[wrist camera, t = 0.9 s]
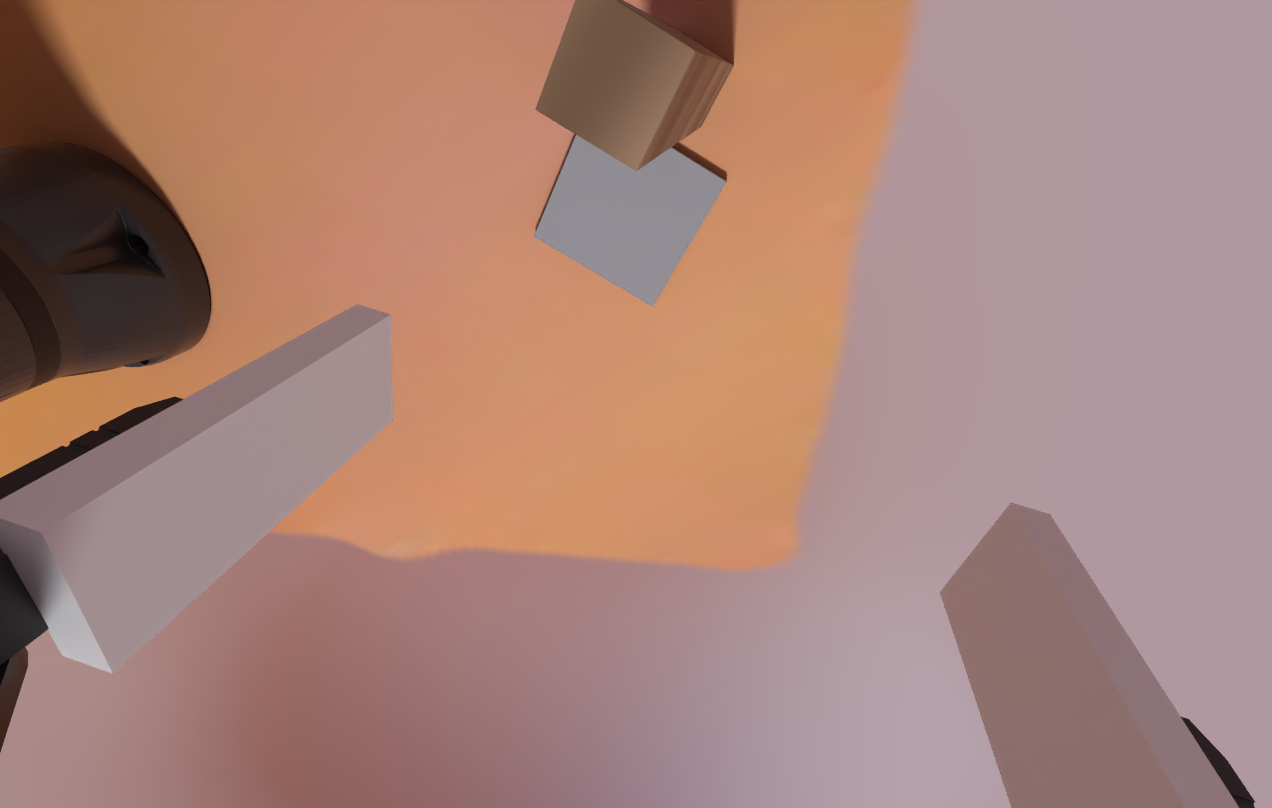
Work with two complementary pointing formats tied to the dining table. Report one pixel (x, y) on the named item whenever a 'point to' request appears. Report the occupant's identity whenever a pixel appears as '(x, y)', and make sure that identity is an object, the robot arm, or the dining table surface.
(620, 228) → the mat
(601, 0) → the walnut rod
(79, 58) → the dining table surface
